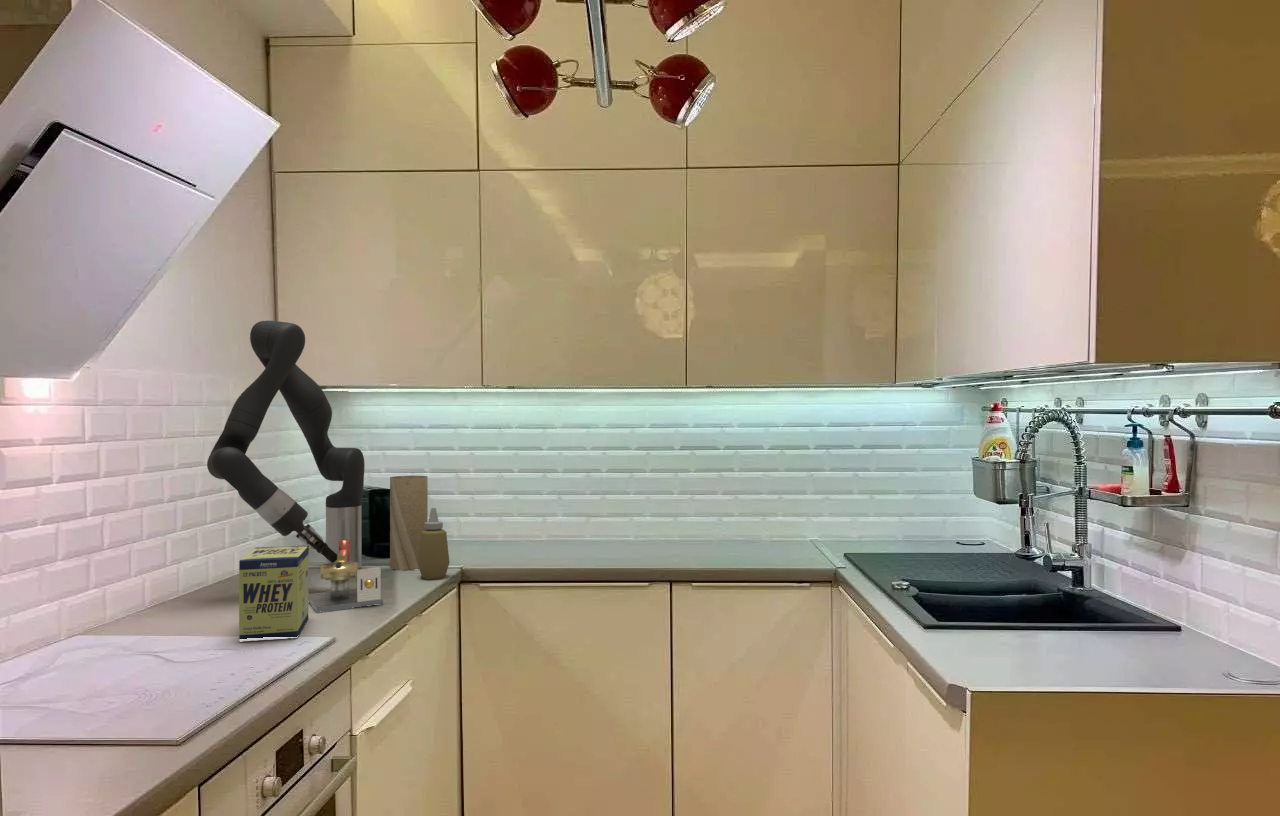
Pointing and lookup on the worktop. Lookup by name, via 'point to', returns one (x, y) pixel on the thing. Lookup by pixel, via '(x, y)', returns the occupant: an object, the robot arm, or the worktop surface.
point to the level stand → (350, 592)
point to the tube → (407, 519)
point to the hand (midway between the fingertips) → (335, 559)
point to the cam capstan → (340, 564)
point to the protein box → (273, 592)
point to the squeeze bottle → (433, 549)
